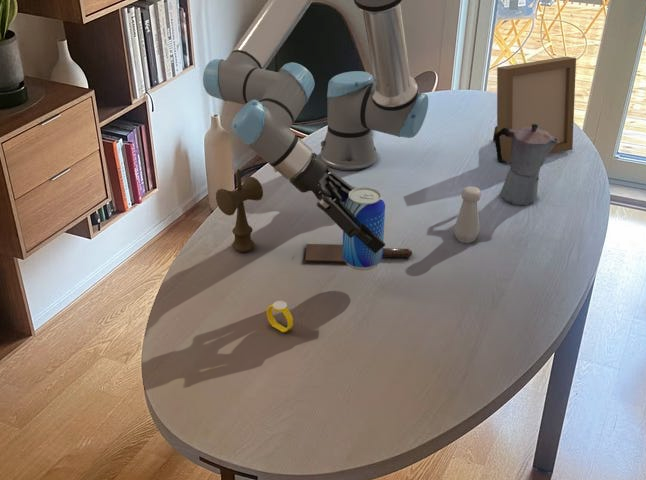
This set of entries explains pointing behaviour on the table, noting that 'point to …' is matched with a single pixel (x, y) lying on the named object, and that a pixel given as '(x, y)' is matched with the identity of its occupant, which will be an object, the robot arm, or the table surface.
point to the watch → (282, 307)
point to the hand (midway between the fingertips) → (379, 236)
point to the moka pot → (524, 162)
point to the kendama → (240, 209)
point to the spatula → (335, 253)
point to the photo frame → (537, 100)
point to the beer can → (372, 215)
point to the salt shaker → (468, 216)
